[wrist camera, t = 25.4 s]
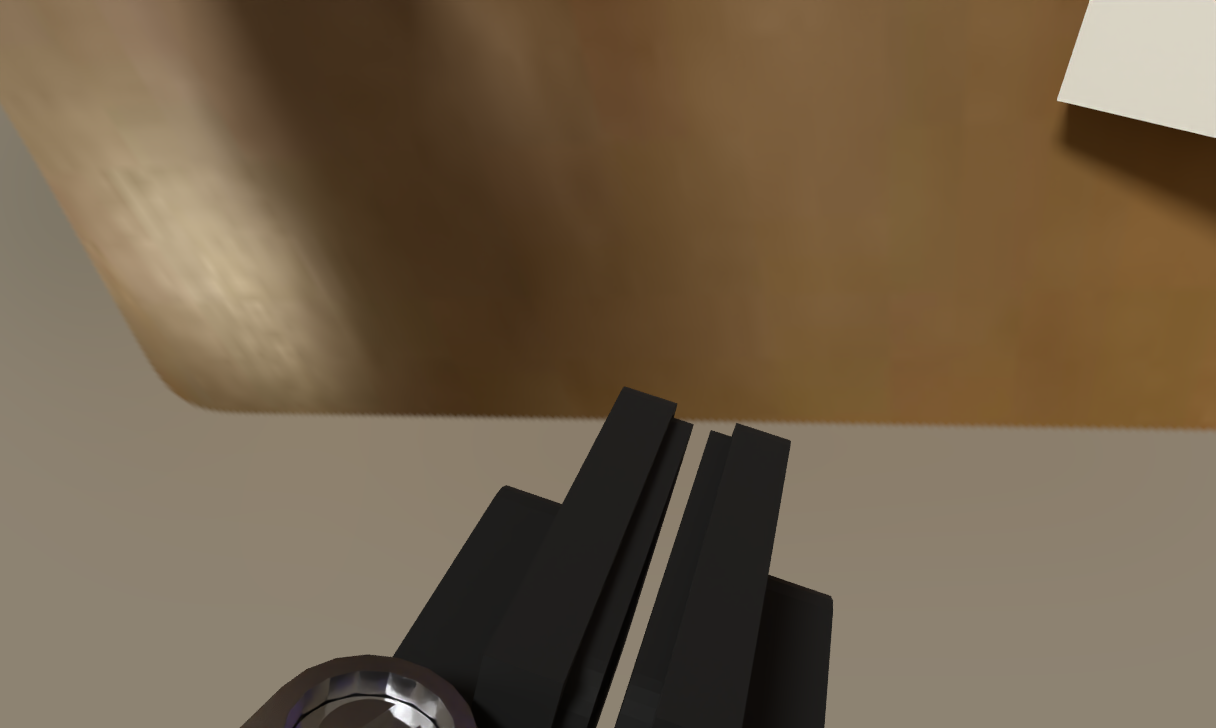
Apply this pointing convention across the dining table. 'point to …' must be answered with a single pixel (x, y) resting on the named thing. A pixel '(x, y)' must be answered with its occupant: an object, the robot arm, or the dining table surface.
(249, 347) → the dining table surface
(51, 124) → the dining table surface
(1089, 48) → the domino
